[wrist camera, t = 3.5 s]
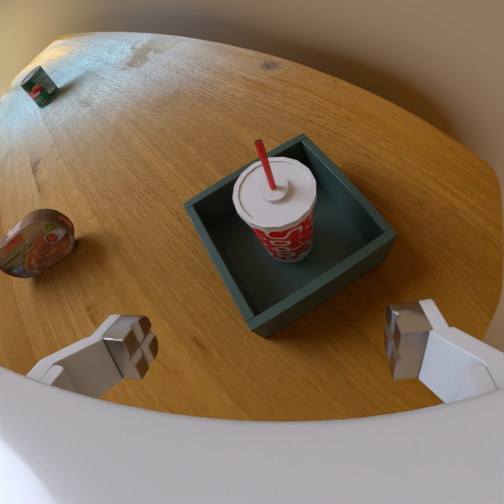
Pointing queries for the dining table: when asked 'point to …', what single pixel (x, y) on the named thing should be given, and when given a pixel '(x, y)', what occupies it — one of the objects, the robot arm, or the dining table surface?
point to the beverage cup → (278, 204)
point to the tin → (36, 243)
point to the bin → (303, 271)
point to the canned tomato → (40, 87)
